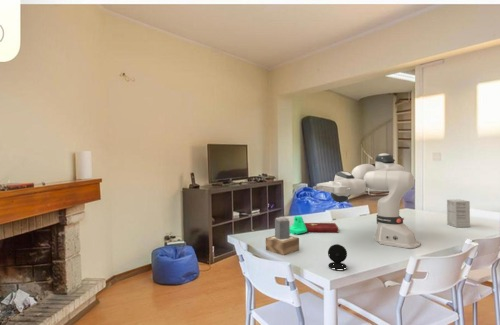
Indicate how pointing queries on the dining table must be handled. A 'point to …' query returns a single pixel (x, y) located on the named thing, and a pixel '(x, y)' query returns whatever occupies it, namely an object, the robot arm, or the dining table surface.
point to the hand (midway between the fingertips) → (319, 189)
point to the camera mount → (298, 226)
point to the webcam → (337, 256)
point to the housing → (282, 228)
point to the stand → (282, 245)
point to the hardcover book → (321, 227)
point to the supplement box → (458, 213)
